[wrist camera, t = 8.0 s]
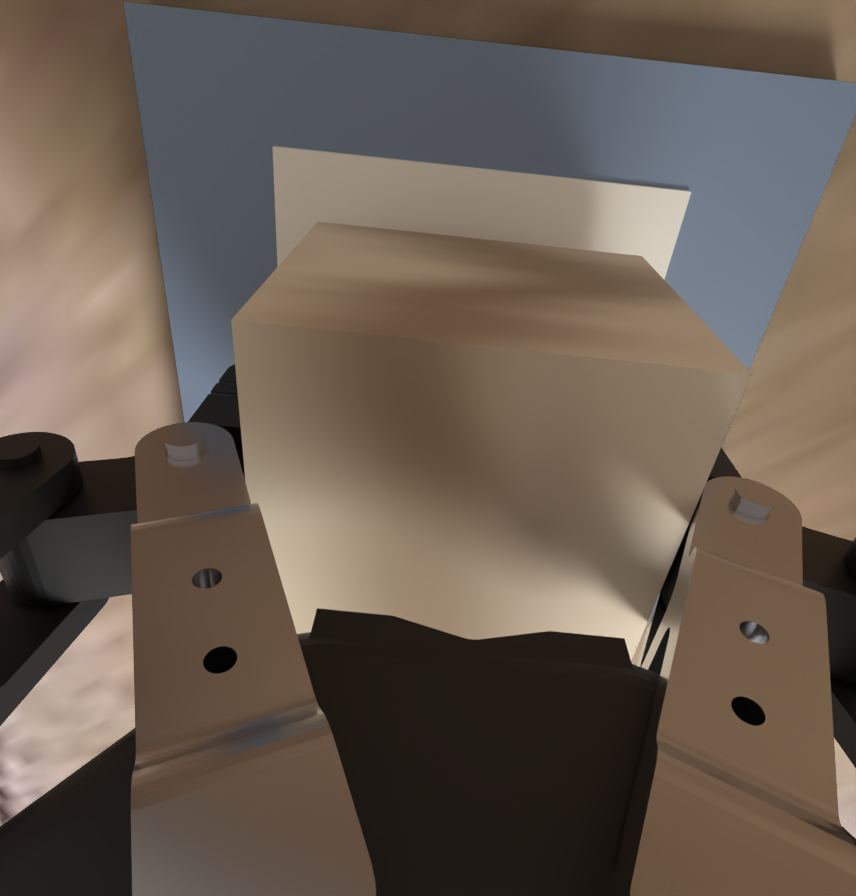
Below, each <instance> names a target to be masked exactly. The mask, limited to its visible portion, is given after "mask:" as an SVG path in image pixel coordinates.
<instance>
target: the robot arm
mask: <svg viewBox="0 0 856 896" xmlns="http://www.w3.org/2000/svg"><path fill="white" fill-rule="evenodd" d="M0 572H1V575H2V577H3V580H2V581H1V582H0V726H1V725H2V723H3V722H4V721H5V720H6V719H7V718H8V716H9V715H10V714H11V713H12V712H13V711H14V710H15V708H16V707H17V706H18V705H19V704H20V703H21V701H22V700H23V699H24V698H25V697H26V696H27V694H28V693H29V692H30V691H31V690H32V689H33V688H34V686H35V685H36V684H37V683H38V682H39V681H40V679H41V678H42V677H43V676H44V675H45V674H46V672H47V671H48V670H49V669H50V668H51V667H52V666H53V664H54V663H55V662H56V661H57V660H58V659H59V657H60V656H61V655H62V654H63V653H64V652H65V650H66V649H67V648H68V647H69V646H70V645H71V644H72V642H73V641H74V640H75V639H76V638H77V637H78V635H79V634H80V633H81V632H82V631H83V630H84V628H85V627H86V626H87V625H88V624H89V623H90V622H91V620H92V619H93V618H94V617H95V616H96V615H97V613H98V612H99V611H100V610H101V609H102V608H103V606H104V605H105V604H106V602H107V601H108V599H109V597H114V596H121V595H127V594H132V610H133V650H134V690H135V728H134V729H133V730H132V731H130V732H129V733H127V734H126V735H125V736H123V737H122V738H121V739H119V740H118V741H116V742H115V743H114V744H112V745H111V746H110V747H108V748H107V749H106V750H104V751H103V752H101V753H100V754H99V755H97V756H96V757H95V758H93V759H92V760H91V761H89V762H88V763H86V764H85V765H84V766H82V767H81V768H80V769H78V770H77V771H75V772H74V773H73V774H71V775H70V776H69V777H67V778H66V779H65V780H63V781H62V782H60V783H59V784H58V785H56V786H55V787H54V788H52V789H51V790H50V791H48V792H47V793H45V794H44V795H43V796H41V797H40V798H39V799H37V800H36V801H34V802H33V803H32V804H30V805H29V806H28V807H26V808H25V809H24V810H22V811H21V812H19V813H18V814H17V815H15V816H14V817H13V818H11V819H10V820H8V821H7V822H6V823H4V824H3V825H2V826H0V896H856V839H855V838H854V837H853V836H852V835H851V834H850V833H849V832H848V831H846V830H845V829H844V828H843V827H842V826H841V824H840V820H839V814H838V800H837V783H836V767H835V750H834V738H835V739H836V741H837V742H838V743H839V745H840V746H841V748H842V749H843V751H844V752H845V753H846V755H847V756H848V758H849V759H850V761H851V762H852V763H853V765H854V766H855V768H856V538H855V539H854V541H850V540H846V539H843V538H839V537H836V536H832V535H829V534H825V533H822V532H818V531H815V530H812V529H808V528H805V527H802V518H801V514H800V512H799V510H798V509H797V507H796V506H795V505H794V504H793V503H792V502H791V501H790V500H789V499H788V498H786V497H785V496H784V495H782V494H781V493H779V492H778V491H776V490H774V489H772V488H770V487H768V486H766V485H764V484H761V483H758V482H756V481H753V480H749V479H745V478H742V477H741V476H740V475H739V473H738V472H737V470H736V469H735V467H734V466H733V464H732V463H731V461H730V460H729V458H728V457H727V455H726V454H725V452H724V451H723V449H722V448H721V449H720V451H719V454H718V456H717V458H716V461H715V463H714V465H713V468H712V470H711V473H710V475H709V477H708V480H707V482H706V484H705V487H704V489H703V492H702V494H701V496H700V499H699V501H698V503H697V506H696V508H695V510H694V513H693V515H692V518H691V520H690V522H689V525H688V527H687V529H686V532H685V534H684V537H683V539H682V541H681V544H680V546H679V548H678V551H677V553H676V556H675V558H674V560H673V563H672V565H671V567H670V570H669V572H668V574H667V577H666V579H665V582H664V584H663V586H662V589H661V591H660V593H659V596H658V598H657V601H656V603H655V605H654V608H653V610H652V613H651V617H650V620H649V624H648V627H647V631H646V634H645V638H644V642H643V645H642V649H641V652H640V656H639V659H638V663H637V666H636V665H633V664H632V663H631V659H630V656H629V652H628V649H627V645H626V642H625V638H615V637H605V636H595V635H585V634H574V633H564V632H554V631H546V632H537V633H529V634H521V635H512V636H504V637H496V638H487V639H477V640H473V639H466V638H462V637H459V636H456V635H453V634H450V633H446V632H443V631H440V630H437V629H434V628H431V627H427V626H424V625H421V624H418V623H415V622H411V621H408V620H405V619H402V618H399V617H395V616H391V615H381V614H370V613H360V612H350V611H340V610H330V609H319V608H317V610H316V614H315V618H314V622H313V626H312V630H311V632H308V633H301V634H297V633H296V629H295V626H294V623H293V619H292V616H291V612H290V609H289V606H288V602H287V599H286V595H285V592H284V589H283V585H282V582H281V578H280V575H279V571H278V568H277V565H276V561H275V558H274V554H273V551H272V547H271V544H270V541H269V537H268V534H267V530H266V527H265V524H264V520H263V517H262V513H261V510H260V507H259V505H258V503H253V504H251V501H250V497H249V494H248V490H247V487H246V483H245V472H244V460H243V449H242V438H241V426H240V415H239V403H238V392H237V381H236V369H235V364H234V365H232V366H230V367H228V369H227V370H226V371H225V373H224V374H223V375H222V377H221V378H220V379H219V383H216V385H215V386H214V387H213V389H212V390H211V394H208V395H207V397H206V398H205V399H204V401H203V402H202V403H201V405H200V406H199V407H198V409H197V410H196V411H195V413H194V414H193V415H192V417H191V418H190V419H189V421H188V422H184V423H177V424H172V425H167V426H164V427H161V428H158V429H156V430H154V431H152V432H150V433H148V434H147V435H145V436H144V437H143V438H142V439H141V440H140V441H139V442H138V443H137V445H136V447H135V456H133V457H127V458H119V459H107V460H96V461H84V462H78V459H77V455H76V451H75V448H74V445H73V443H72V442H71V441H70V440H69V439H67V438H66V437H63V436H61V435H57V434H54V433H47V432H27V433H19V434H14V435H8V436H5V437H1V438H0Z"/></svg>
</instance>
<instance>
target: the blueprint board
mask: <svg viewBox="0 0 856 896" xmlns="http://www.w3.org/2000/svg"><path fill="white" fill-rule="evenodd" d="M123 4H124V10H125V17H126V24H127V31H128V38H129V45H130V52H131V59H132V65H133V72H134V79H135V86H136V93H137V100H138V107H139V113H140V120H141V127H142V134H143V141H144V148H145V155H146V162H147V168H148V175H149V182H150V189H151V196H152V203H153V210H154V217H155V223H156V230H157V237H158V244H159V251H160V258H161V265H162V272H163V278H164V285H165V292H166V299H167V306H168V313H169V320H170V326H171V333H172V340H173V347H174V354H175V361H176V368H177V375H178V381H179V388H180V395H181V402H182V409H183V416H184V422H188V421H189V419H190V418H191V417H192V415H193V414H194V413H195V411H196V410H197V409H198V407H199V406H200V405H201V403H202V402H203V401H204V399H205V398H206V397H207V395H208V394H211V390H212V389H213V387H214V386H215V385H216V383H219V379H220V378H221V377H222V375H223V374H224V373H225V371H226V370H227V369H228V367H230V366H232V365H234V364H235V358H234V347H233V335H232V324H231V320H232V318H233V317H234V316H235V315H236V314H237V313H238V312H239V310H240V309H241V308H242V307H243V306H244V305H245V304H246V303H247V301H248V300H249V299H250V298H251V297H252V296H253V295H254V293H255V292H256V291H257V290H258V289H259V288H260V287H261V285H262V284H263V283H264V282H265V281H266V280H267V279H268V278H269V276H270V275H271V274H272V273H273V272H274V271H275V270H276V268H277V267H278V266H279V265H280V264H281V263H282V262H283V260H284V259H285V258H286V257H287V256H288V255H289V254H290V253H291V251H292V250H293V249H294V248H295V247H296V246H297V245H298V243H299V242H300V241H301V240H302V239H303V238H304V237H305V235H306V234H307V233H308V232H309V231H310V230H311V229H312V228H313V226H314V225H315V224H316V223H317V222H327V223H336V224H345V225H355V226H364V227H374V228H383V229H393V230H402V231H411V232H421V233H430V234H440V235H449V236H459V237H468V238H477V239H487V240H496V241H506V242H515V243H525V244H534V245H543V246H553V247H562V248H572V249H581V250H591V251H600V252H609V253H619V254H628V255H638V256H642V257H643V258H644V259H645V260H646V261H647V262H648V263H649V264H650V265H651V266H652V267H653V268H654V269H655V270H656V272H657V273H658V274H659V275H660V276H661V277H662V278H663V279H664V280H665V281H666V282H667V283H668V284H669V285H670V287H671V288H672V289H673V290H674V291H675V292H676V293H677V294H678V295H679V296H680V297H681V298H682V299H683V300H684V302H685V303H686V304H687V305H688V306H689V307H690V308H691V309H692V310H693V311H694V312H695V313H696V314H697V315H698V317H699V318H700V319H701V320H702V321H703V322H704V323H705V324H706V325H707V326H708V327H709V328H710V329H711V330H712V332H713V333H714V334H715V335H716V336H717V337H718V338H719V339H720V340H721V341H722V342H723V343H724V344H725V346H726V347H727V348H728V349H729V350H730V351H731V352H732V353H733V354H734V355H735V356H736V357H737V358H738V359H739V361H740V362H741V363H742V364H743V365H744V366H745V367H746V368H747V369H748V370H749V369H750V366H751V364H752V362H753V359H754V357H755V354H756V352H757V350H758V347H759V345H760V342H761V340H762V338H763V335H764V333H765V331H766V328H767V326H768V323H769V321H770V319H771V316H772V314H773V311H774V309H775V307H776V304H777V302H778V299H779V297H780V295H781V292H782V290H783V287H784V285H785V283H786V280H787V278H788V276H789V273H790V271H791V268H792V266H793V264H794V261H795V259H796V256H797V254H798V252H799V249H800V247H801V244H802V242H803V240H804V237H805V235H806V232H807V230H808V228H809V225H810V223H811V221H812V218H813V216H814V213H815V211H816V209H817V206H818V204H819V201H820V199H821V197H822V194H823V192H824V189H825V187H826V185H827V182H828V180H829V178H830V175H831V173H832V170H833V168H834V166H835V163H836V161H837V158H838V156H839V154H840V151H841V149H842V146H843V144H844V142H845V139H846V137H847V134H848V132H849V130H850V127H851V125H852V123H853V120H854V118H855V115H856V83H854V82H845V81H836V80H827V79H818V78H809V77H800V76H791V75H782V74H773V73H764V72H755V71H746V70H737V69H728V68H719V67H710V66H701V65H692V64H683V63H674V62H665V61H656V60H647V59H638V58H629V57H619V56H610V55H601V54H592V53H583V52H574V51H565V50H556V49H547V48H538V47H529V46H520V45H511V44H502V43H493V42H484V41H475V40H466V39H457V38H448V37H439V36H430V35H421V34H412V33H403V32H394V31H385V30H376V29H367V28H358V27H349V26H340V25H331V24H322V23H313V22H304V21H295V20H286V19H277V18H268V17H259V16H250V15H241V14H232V13H223V12H214V11H205V10H196V9H187V8H178V7H169V6H160V5H151V4H142V3H133V2H124V1H123Z"/></svg>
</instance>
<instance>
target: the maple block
mask: <svg viewBox="0 0 856 896" xmlns="http://www.w3.org/2000/svg"><path fill="white" fill-rule="evenodd" d="M231 324H232V335H233V347H234V358H235V369H236V381H237V392H238V403H239V415H240V426H241V438H242V449H243V460H244V472H245V483H246V487H247V490H248V494H249V497H250V501H251V504H253V503H258V505H259V507H260V510H261V513H262V517H263V520H264V524H265V527H266V530H267V534H268V537H269V541H270V544H271V547H272V551H273V554H274V558H275V561H276V565H277V568H278V571H279V575H280V578H281V582H282V585H283V589H284V592H285V595H286V599H287V602H288V606H289V609H290V612H291V616H292V619H293V623H294V626H295V629H296V633H297V634H301V633H308V632H311V630H312V626H313V622H314V618H315V614H316V610H317V608H319V609H330V610H340V611H350V612H360V613H370V614H381V615H391V616H395V617H399V618H402V619H405V620H408V621H411V622H415V623H418V624H421V625H424V626H427V627H431V628H434V629H437V630H440V631H443V632H446V633H450V634H453V635H456V636H459V637H462V638H466V639H473V640H477V639H487V638H496V637H504V636H512V635H521V634H529V633H537V632H546V631H554V632H564V633H574V634H585V635H595V636H605V637H615V638H625V642H626V645H627V649H628V652H629V656H630V659H631V660H632V657H633V655H634V653H635V650H636V648H637V646H638V643H639V641H640V638H641V636H642V634H643V631H644V629H645V627H646V624H647V622H648V620H649V617H650V615H651V612H652V610H653V608H654V605H655V603H656V601H657V598H658V596H659V593H660V591H661V589H662V586H663V584H664V582H665V579H666V577H667V574H668V572H669V570H670V567H671V565H672V563H673V560H674V558H675V556H676V553H677V551H678V548H679V546H680V544H681V541H682V539H683V537H684V534H685V532H686V529H687V527H688V525H689V522H690V520H691V518H692V515H693V513H694V510H695V508H696V506H697V503H698V501H699V499H700V496H701V494H702V492H703V489H704V487H705V484H706V482H707V480H708V477H709V475H710V473H711V470H712V468H713V465H714V463H715V461H716V458H717V456H718V454H719V451H720V449H721V447H722V444H723V442H724V439H725V437H726V435H727V432H728V430H729V428H730V425H731V423H732V420H733V418H734V416H735V413H736V411H737V409H738V406H739V404H740V401H741V399H742V397H743V394H744V392H745V390H746V387H747V385H748V383H749V380H750V378H751V375H752V373H751V372H750V371H749V370H748V369H747V368H746V367H745V366H744V365H743V364H742V363H741V362H740V361H739V359H738V358H737V357H736V356H735V355H734V354H733V353H732V352H731V351H730V350H729V349H728V348H727V347H726V346H725V344H724V343H723V342H722V341H721V340H720V339H719V338H718V337H717V336H716V335H715V334H714V333H713V332H712V330H711V329H710V328H709V327H708V326H707V325H706V324H705V323H704V322H703V321H702V320H701V319H700V318H699V317H698V315H697V314H696V313H695V312H694V311H693V310H692V309H691V308H690V307H689V306H688V305H687V304H686V303H685V302H684V300H683V299H682V298H681V297H680V296H679V295H678V294H677V293H676V292H675V291H674V290H673V289H672V288H671V287H670V285H669V284H668V283H667V282H666V281H665V280H664V279H663V278H662V277H661V276H660V275H659V274H658V273H657V272H656V270H655V269H654V268H653V267H652V266H651V265H650V264H649V263H648V262H647V261H646V260H645V259H644V258H643V257H642V256H638V255H628V254H619V253H609V252H600V251H591V250H581V249H572V248H562V247H553V246H543V245H534V244H525V243H515V242H506V241H496V240H487V239H477V238H468V237H459V236H449V235H440V234H430V233H421V232H411V231H402V230H393V229H383V228H374V227H364V226H355V225H345V224H336V223H327V222H317V223H316V224H315V225H314V226H313V228H312V229H311V230H310V231H309V232H308V233H307V234H306V235H305V237H304V238H303V239H302V240H301V241H300V242H299V243H298V245H297V246H296V247H295V248H294V249H293V250H292V251H291V253H290V254H289V255H288V256H287V257H286V258H285V259H284V260H283V262H282V263H281V264H280V265H279V266H278V267H277V268H276V270H275V271H274V272H273V273H272V274H271V275H270V276H269V278H268V279H267V280H266V281H265V282H264V283H263V284H262V285H261V287H260V288H259V289H258V290H257V291H256V292H255V293H254V295H253V296H252V297H251V298H250V299H249V300H248V301H247V303H246V304H245V305H244V306H243V307H242V308H241V309H240V310H239V312H238V313H237V314H236V315H235V316H234V317H233V318H232V320H231Z"/></svg>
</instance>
